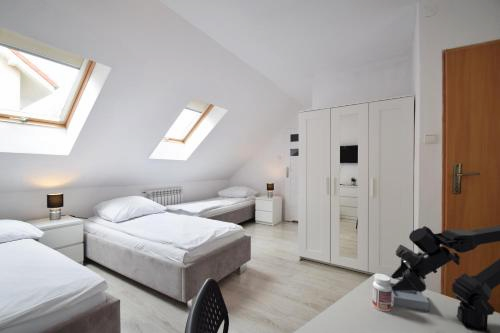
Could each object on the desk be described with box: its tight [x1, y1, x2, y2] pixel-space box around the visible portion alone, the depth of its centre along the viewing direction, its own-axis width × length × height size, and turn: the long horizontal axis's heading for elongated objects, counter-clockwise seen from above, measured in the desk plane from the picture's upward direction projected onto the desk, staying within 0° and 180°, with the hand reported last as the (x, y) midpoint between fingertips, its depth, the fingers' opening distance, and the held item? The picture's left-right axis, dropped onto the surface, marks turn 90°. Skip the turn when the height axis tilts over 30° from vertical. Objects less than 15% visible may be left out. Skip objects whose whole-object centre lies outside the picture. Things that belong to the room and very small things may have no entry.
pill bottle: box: [371, 273, 392, 312], centre depth 89 cm, size 6×6×11 cm
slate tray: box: [390, 282, 430, 313], centre depth 93 cm, size 11×11×4 cm
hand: (392, 282), depth 87 cm, fingers open, 9 cm apart
